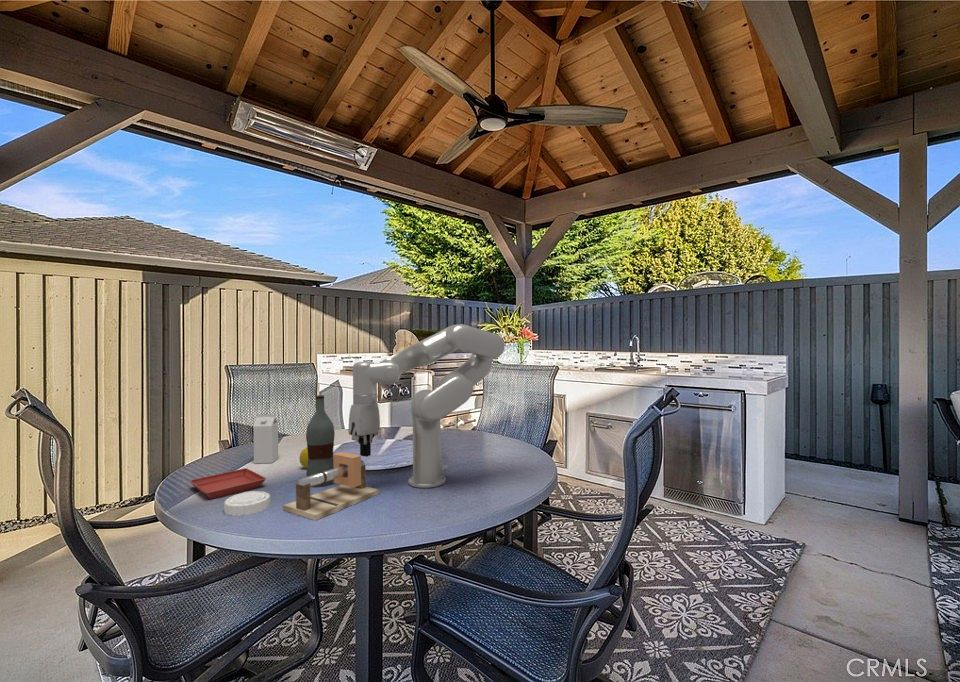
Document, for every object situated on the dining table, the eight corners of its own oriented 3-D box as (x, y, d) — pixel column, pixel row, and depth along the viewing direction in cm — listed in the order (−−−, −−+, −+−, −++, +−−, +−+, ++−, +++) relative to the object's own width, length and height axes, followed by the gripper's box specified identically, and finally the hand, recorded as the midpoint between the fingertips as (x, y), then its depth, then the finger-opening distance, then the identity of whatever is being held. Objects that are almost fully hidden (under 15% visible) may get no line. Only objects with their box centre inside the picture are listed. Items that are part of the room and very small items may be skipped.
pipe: (358, 468, 147) (357, 459, 147) (365, 470, 145) (364, 460, 145) (296, 489, 127) (296, 478, 127) (303, 491, 126) (303, 479, 126)
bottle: (327, 477, 161) (327, 393, 160) (340, 482, 154) (339, 395, 154) (301, 483, 154) (300, 395, 154) (313, 489, 148) (312, 398, 147)
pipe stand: (347, 486, 150) (347, 461, 150) (378, 494, 143) (378, 467, 143) (283, 510, 130) (282, 481, 130) (315, 520, 122) (314, 489, 122)
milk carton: (260, 459, 185) (259, 413, 185) (278, 458, 186) (278, 412, 186) (253, 464, 178) (253, 416, 178) (272, 463, 179) (271, 415, 179)
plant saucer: (206, 503, 137) (206, 492, 137) (188, 489, 150) (188, 479, 150) (267, 488, 151) (267, 478, 151) (246, 477, 163) (246, 467, 163)
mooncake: (262, 498, 141) (262, 486, 141) (276, 509, 132) (276, 496, 132) (219, 508, 132) (219, 496, 132) (230, 520, 124) (230, 507, 124)
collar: (341, 480, 144) (340, 452, 144) (361, 484, 140) (360, 455, 140) (333, 482, 142) (333, 454, 142) (353, 487, 137) (353, 458, 137)
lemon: (296, 469, 170) (296, 448, 170) (306, 465, 175) (306, 445, 175) (308, 471, 168) (307, 449, 168) (318, 467, 173) (318, 446, 173)
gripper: (373, 396, 156) (373, 449, 156) (339, 401, 143) (339, 459, 143) (389, 397, 152) (389, 452, 152) (355, 403, 139) (356, 462, 139)
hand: (365, 455), depth 147 cm, fingers closed
